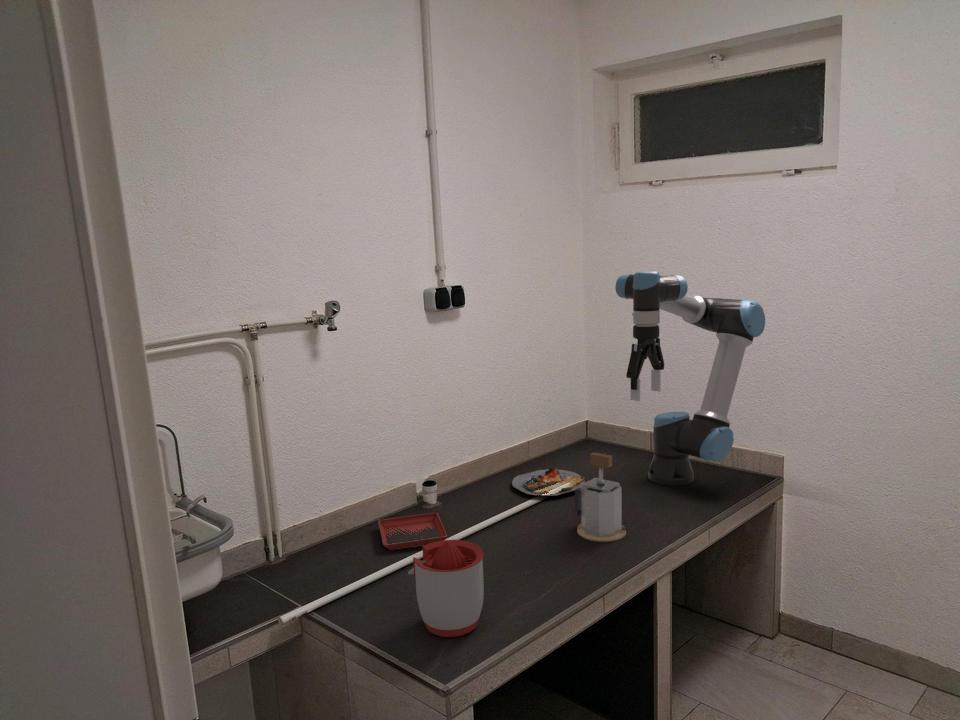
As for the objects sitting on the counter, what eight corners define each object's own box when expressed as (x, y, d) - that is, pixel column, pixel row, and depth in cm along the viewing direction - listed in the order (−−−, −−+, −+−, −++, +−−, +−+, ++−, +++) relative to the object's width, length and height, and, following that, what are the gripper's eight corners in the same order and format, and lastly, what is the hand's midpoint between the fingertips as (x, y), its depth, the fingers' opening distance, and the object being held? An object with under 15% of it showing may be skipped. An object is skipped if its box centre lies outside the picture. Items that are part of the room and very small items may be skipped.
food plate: (557, 469, 265) (557, 460, 264) (600, 488, 245) (599, 478, 245) (499, 486, 252) (499, 476, 252) (539, 507, 233) (539, 497, 232)
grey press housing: (589, 517, 221) (588, 471, 218) (634, 529, 212) (634, 481, 209) (564, 533, 210) (563, 485, 208) (611, 546, 201) (611, 496, 198)
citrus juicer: (424, 602, 175) (420, 523, 171) (494, 611, 170) (491, 530, 166) (398, 637, 160) (393, 552, 157) (474, 648, 155) (470, 560, 151)
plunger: (596, 511, 215) (596, 449, 211) (618, 516, 211) (617, 453, 207) (584, 519, 209) (583, 456, 206) (606, 524, 205) (605, 460, 202)
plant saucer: (383, 555, 202) (383, 544, 201) (378, 529, 219) (377, 519, 218) (448, 547, 206) (447, 536, 205) (437, 522, 223) (437, 512, 222)
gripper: (653, 318, 225) (652, 386, 229) (614, 329, 206) (614, 402, 210) (676, 320, 220) (675, 388, 224) (638, 331, 201) (638, 406, 205)
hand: (645, 395), depth 217 cm, fingers open, 13 cm apart
